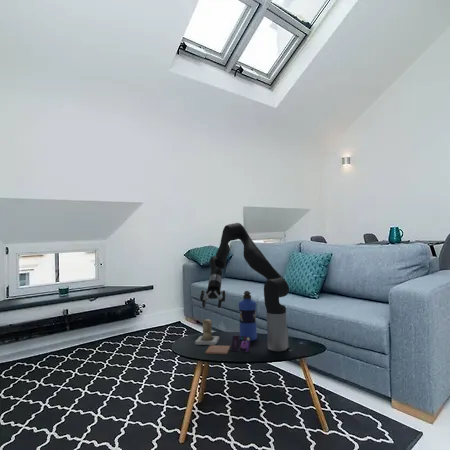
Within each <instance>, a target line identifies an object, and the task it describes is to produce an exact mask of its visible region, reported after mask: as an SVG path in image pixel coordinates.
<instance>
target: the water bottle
mask: <svg viewBox="0 0 450 450" xmlns="http://www.w3.org/2000/svg"><path fill="white" fill-rule="evenodd" d="M251 294H252V293H251V292H250V291H249V290H245V291H244V292H243V295H242V298H243V299H242V300H241V301H239V302H238V311H239V336H243V337H251V340H249V341H250V342H253V341H256V340H257V339H258V336H257V335H258V333H257V328H258V327H257V319H256V313H257V311H256V310H257V302H256V301H255V300H252V295H251ZM239 340H241V337H239ZM242 341H247V339H246V340H244V339H243V340H242Z"/></svg>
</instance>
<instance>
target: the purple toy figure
mask: <svg viewBox="0 0 450 450" xmlns="http://www.w3.org/2000/svg"><path fill="white" fill-rule="evenodd" d="M240 337H241V339H240ZM243 339H244V340H246V339H247V341H243ZM240 340H241V343H240ZM249 340H251V337H243V336H240V335H232V340H231V341H232V342H231V351H235V352H244V353H250V351H251V350H250V349H251V341H249ZM239 344H240V345H239ZM239 348H241V349H242V350H239ZM244 349H245V350H244Z"/></svg>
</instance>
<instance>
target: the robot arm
mask: <svg viewBox="0 0 450 450" xmlns="http://www.w3.org/2000/svg"><path fill="white" fill-rule="evenodd" d="M237 240H239V241H240V242H241V243H242V245H243V257H244V260H245V262H246V263H247V265H248V266H249V267H250V268H251V269H252V270H253V271H254V272H256V273H258V274H260V275H261V276H262V277H263V278H265V279H266V281H265V282H264V284H263V297H264V298H263V299H264V306H265V309H266V332H267V334H266V336H267V349H268V350H270V351H272V352H284V351H287V349H288V348H289V328H288V326H287V307H286V305H284V304H281V303H280V298H284V297H286V296H287V295H289V291H290V287H289V284H288V282H287V281H286V279H285V278H284V276H282V275H281V274H280V273H279V272H278V271H277V270H276V269H275V268H274V267H273V266H272V263H270V262H269V261H268V259H267V258H266V257H265V255H264V253H263V252H262V251H261V249H260V248H258V246H257V244H255V242H254V241H253V239H252V238H251V236H250V235H249V233H248V231H247V230H246V228H245V227H244V225H242V223H240V222H234V223H229V224H226V225H225V226H224V227H223V230H222V233H221V238H220V243H219V247H218V249H217V251H216V254H215V255H213V256H211V257H210V260H209V267H210V275H209V279H208V285H207V290H206V291H204V290H203V289H202V290H201V293H200V297H199V300H200V302H201V305H202V308H204V309H206V302H207V301H209V300H212V299H214V300H217V301H218V302H217V303H218V304H217V308H220V307H222V302H223V303H224V302H226V290H221V289H222V280H223V279H222V277H223V270H224V269H225V268H226V267H227V258H228V257H229V255H230V252H231V249H230V248H231V247H230V245H229V243H230V242H232V241H237ZM221 295H222V298H221Z"/></svg>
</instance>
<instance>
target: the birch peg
mask: <svg viewBox="0 0 450 450" xmlns="http://www.w3.org/2000/svg"><path fill="white" fill-rule="evenodd" d="M212 328H213V327H212V319H206V318H205V319H202V336H203V340H202V341H212V336H213V335H212V334H213V332H212V330H213V329H212Z"/></svg>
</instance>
